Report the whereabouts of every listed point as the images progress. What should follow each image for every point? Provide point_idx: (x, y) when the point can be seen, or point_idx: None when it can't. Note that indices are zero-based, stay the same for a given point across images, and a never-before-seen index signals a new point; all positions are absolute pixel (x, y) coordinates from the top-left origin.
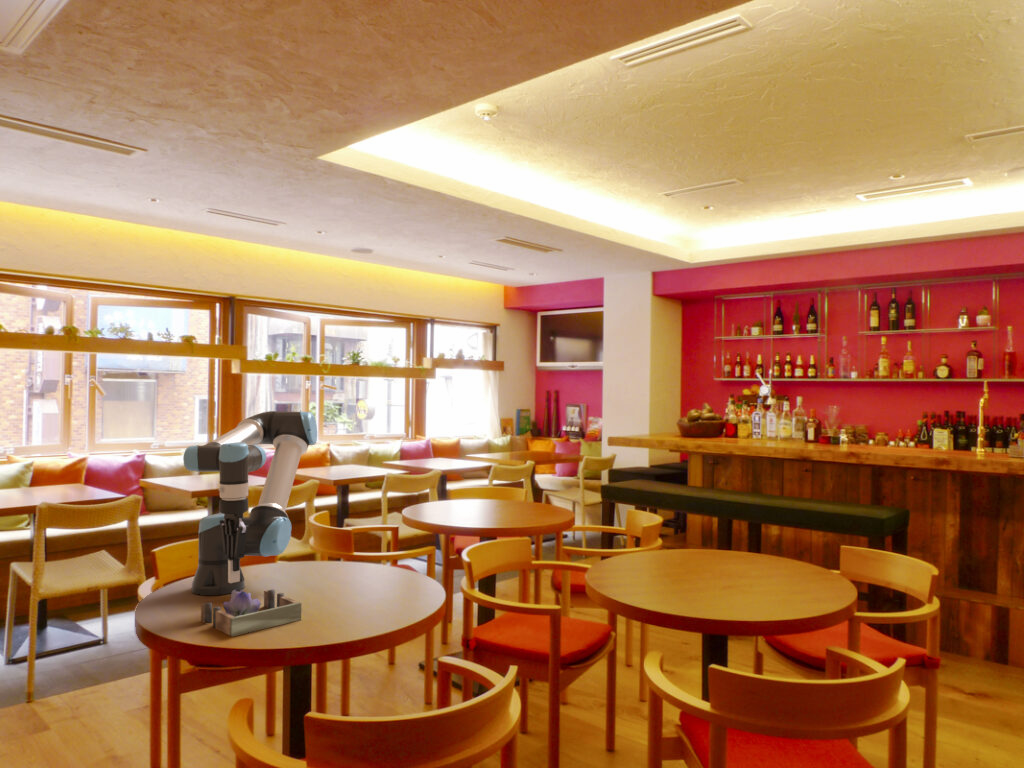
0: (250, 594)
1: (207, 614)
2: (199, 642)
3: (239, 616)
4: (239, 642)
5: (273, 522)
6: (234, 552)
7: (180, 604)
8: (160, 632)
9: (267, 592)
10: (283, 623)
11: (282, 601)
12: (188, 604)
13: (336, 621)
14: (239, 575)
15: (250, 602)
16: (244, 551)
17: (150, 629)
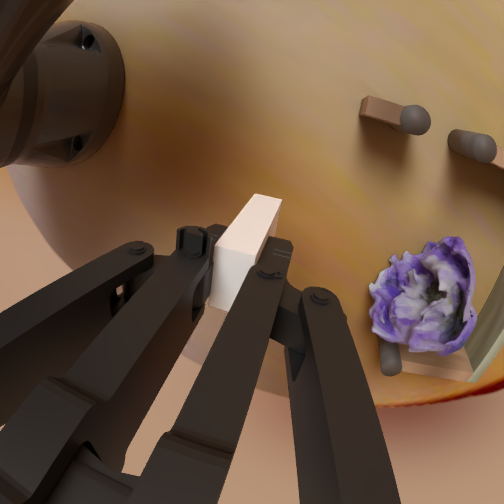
0: (466, 307)
1: None
2: (419, 396)
3: (483, 366)
4: (493, 362)
5: None
6: (287, 374)
7: (121, 241)
8: None
9: (395, 123)
10: None
11: (499, 166)
12: (134, 230)
13: None
14: (277, 212)
15: (476, 315)
16: (349, 335)
17: (257, 388)
